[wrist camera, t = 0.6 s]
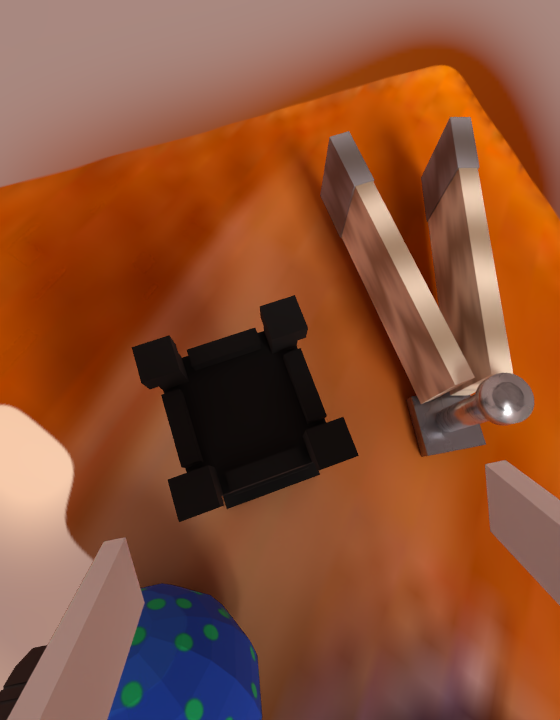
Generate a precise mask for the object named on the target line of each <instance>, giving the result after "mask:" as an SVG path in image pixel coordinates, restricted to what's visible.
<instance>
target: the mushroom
mask: <svg viewBox="0 0 560 720" xmlns="http://www.w3.org/2000/svg"><path fill="white" fill-rule="evenodd" d="M140 589H141V592H142V596H143V599H144V602H145V603H144V606H143V609H142V612H141V616H140V619H139V622H138V625H137V628H136V631H135V634H134V637H133V641H132V644H131V647H130V650H129V653H128V656H127V659H126V663H125V666H124V669H123V672H122V675H121V678H120V681H119V684H118V688H117V691H116V694H115V697H114V700H113V703H112V706H111V710H110V713H109V716H108V719H107V720H262V706H261V694H260V681H259V669H258V656H257V654H256V652H255V650H254V648H253V646H252V644H251V642H250V640H249V639H248V637H247V636H246V635H245V633H244V632H243V631H242V630H241V628H240V627H239V626H238V624H237V623H236V622H235V621H234V619H233V618H232V617H231V615H230V614H229V613H228V611H227V610H226V609H225V608H224V606H223V605H222V604H221V603H219V602H218V601H217V600H216V599H214V598H213V597H212V596H211V595H208V594H204V593H200V592H197V591H193V590H189V589H186V588H182V587H178V586H175V585H169V584H163V583H161V584H157V585H152V586H148V587H144V588H140Z"/></svg>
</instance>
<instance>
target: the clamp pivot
mask: <svg viewBox="0 0 560 720" xmlns="http://www.w3.org/2000/svg"><path fill="white" fill-rule="evenodd" d="M406 402H407V405H408V409H409V413H410V416H411V420H412V424H413V427H414V431H415V434H416V438H417V442H418V445H419V449H420V453H421V456H422V457H424V456H429V455H434V454H439V453H444V452H449V451H454V450H460V449H465V448H470V447H475V446H480V445H485V444H486V443H485V440H484V437H483V434H482V431H481V427H480V423H483V422H486V421H490V422H492V423H494V424H497V425H510V424H514V423H518V422H521V421H523V420H525V419H526V418H528V417H529V415H530V414H531V412H532V410H533V407H534V396H533V393H532V390H531V389H530V387H529V385H528V384H527V383H526V382H525V381H524V380H523V379H522V378H520V377H518V376H517V375H514V374H511V373H498V374H495V375H493V376H491V377H489V378H487V379H485V380H484V381H482V382H481V383H480V384H479V386H478V388H477V390H476V394H475V395H473V396H470V395H450V391H449V392H447V393H445V394H443V395H442V396H440V397H438V398H436V399H433V400H430V401H428V402H425V403H423V404H421V403H420V401H419V399H418V397H417V396H412V397H410V398H408V399H407V400H406Z"/></svg>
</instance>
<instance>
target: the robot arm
mask: <svg viewBox="0 0 560 720" xmlns="http://www.w3.org/2000/svg"><path fill="white" fill-rule="evenodd" d="M485 470H486V482H487V494H488V506H489V519H490V531H491V532H492V533H493V534H494V535H495V536H496V537H497V539H498V540H499V541H500V542H501V543H502V544H503V545H504V546H505V547H506V548H507V549H508V550H509V551H510V552H511V554H512V555H513V556H514V557H515V558H516V559H517V560H518V561H519V562H520V563H521V564H522V565H523V566H524V567H525V569H526V570H527V571H528V572H529V573H530V574H531V575H532V576H533V577H534V578H535V579H536V580H537V581H538V583H539V584H540V585H541V586H542V587H543V588H544V589H545V590H546V591H547V592H548V593H549V594H550V595H551V596H552V598H553V599H554V600H555V601H556V602H557V603H558V604H559V605H560V500H559V499H558V498H556V497H555V496H553V495H552V494H551V493H549V492H548V491H547V490H545V489H544V488H543V487H541V486H540V485H538V484H537V483H536V482H534V481H533V480H532V479H530V478H529V477H528V476H526V475H525V474H523V473H522V472H521V471H519V470H518V469H517V468H515V467H514V466H513V465H511V464H510V463H508V462H507V461H506V460H504V461H499V462H495V463H490V464H485ZM144 603H145V602H144V599H143V596H142V592H141V589H140V585H139V582H138V578H137V575H136V572H135V568H134V565H133V561H132V558H131V554H130V551H129V548H128V544H127V541H126V537H124V538H119V539H114V540H109V541H104V542H103V544H102V546H101V548H100V549H99V551H98V553H97V555H96V557H95V559H94V561H93V562H92V564H91V566H90V568H89V570H88V572H87V573H86V575H85V577H84V579H83V581H82V583H81V584H80V586H79V588H78V590H77V592H76V594H75V595H74V597H73V599H72V601H71V603H70V605H69V607H68V608H67V610H66V612H65V614H64V616H63V618H62V619H61V621H60V623H59V625H58V627H57V629H56V630H55V632H54V634H53V636H52V638H51V640H50V642H49V643H48V645H46V646H41V647H36V648H33V649H32V650H31V651H30V652H29V653H28V654H27V655H26V656H25V657H24V658H23V659H22V660H21V661H20V662H19V664H17V665H16V666H15V668H14V670H13V672H12V673H11V675H10V676H9V678H8V680H7V682H6V683H5V685H4V689H3V690H1V692H0V720H107V719H108V716H109V713H110V710H111V706H112V703H113V700H114V697H115V694H116V691H117V688H118V684H119V681H120V678H121V675H122V672H123V669H124V666H125V663H126V659H127V656H128V653H129V650H130V647H131V644H132V641H133V637H134V634H135V631H136V628H137V625H138V622H139V619H140V616H141V612H142V609H143V606H144Z"/></svg>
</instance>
